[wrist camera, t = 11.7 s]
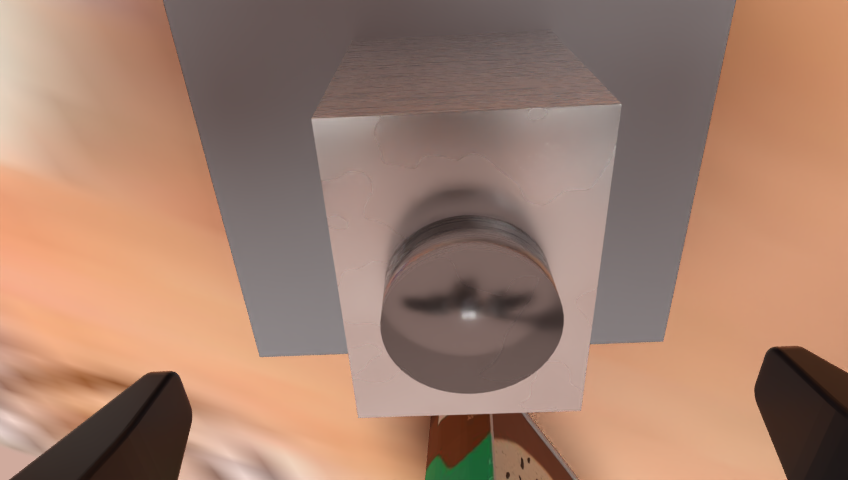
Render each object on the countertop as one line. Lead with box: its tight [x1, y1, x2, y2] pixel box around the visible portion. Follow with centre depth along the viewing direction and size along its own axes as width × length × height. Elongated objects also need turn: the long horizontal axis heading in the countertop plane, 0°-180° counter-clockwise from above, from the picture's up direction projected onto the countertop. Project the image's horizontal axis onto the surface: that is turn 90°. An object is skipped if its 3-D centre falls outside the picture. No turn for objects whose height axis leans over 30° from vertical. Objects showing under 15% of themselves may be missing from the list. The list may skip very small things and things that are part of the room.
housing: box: [311, 30, 622, 418], centre depth 13 cm, size 5×7×7 cm
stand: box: [163, 0, 736, 357], centre depth 17 cm, size 14×14×3 cm
